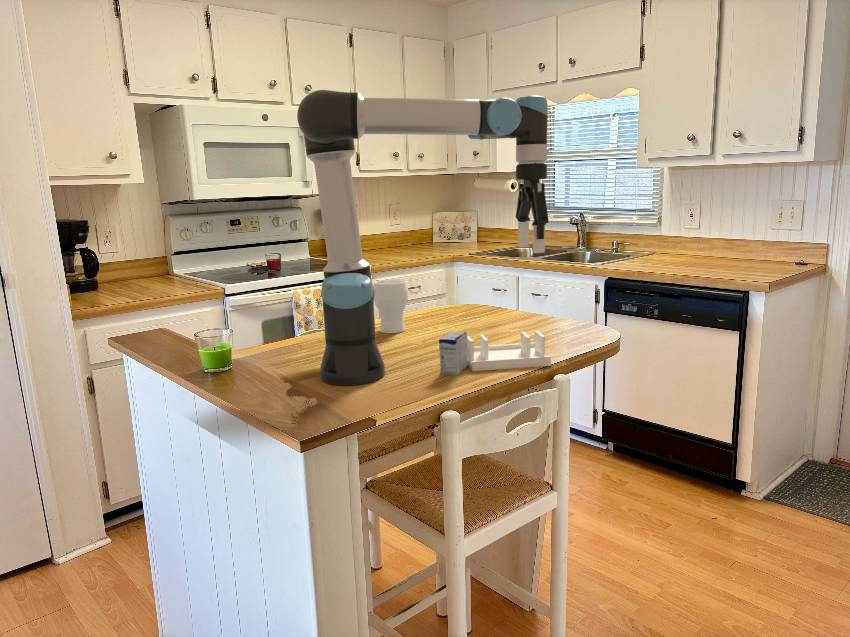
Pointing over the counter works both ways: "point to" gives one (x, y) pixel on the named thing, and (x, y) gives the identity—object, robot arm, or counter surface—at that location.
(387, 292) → the cup
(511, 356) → the rack
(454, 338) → the box
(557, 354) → the counter surface
